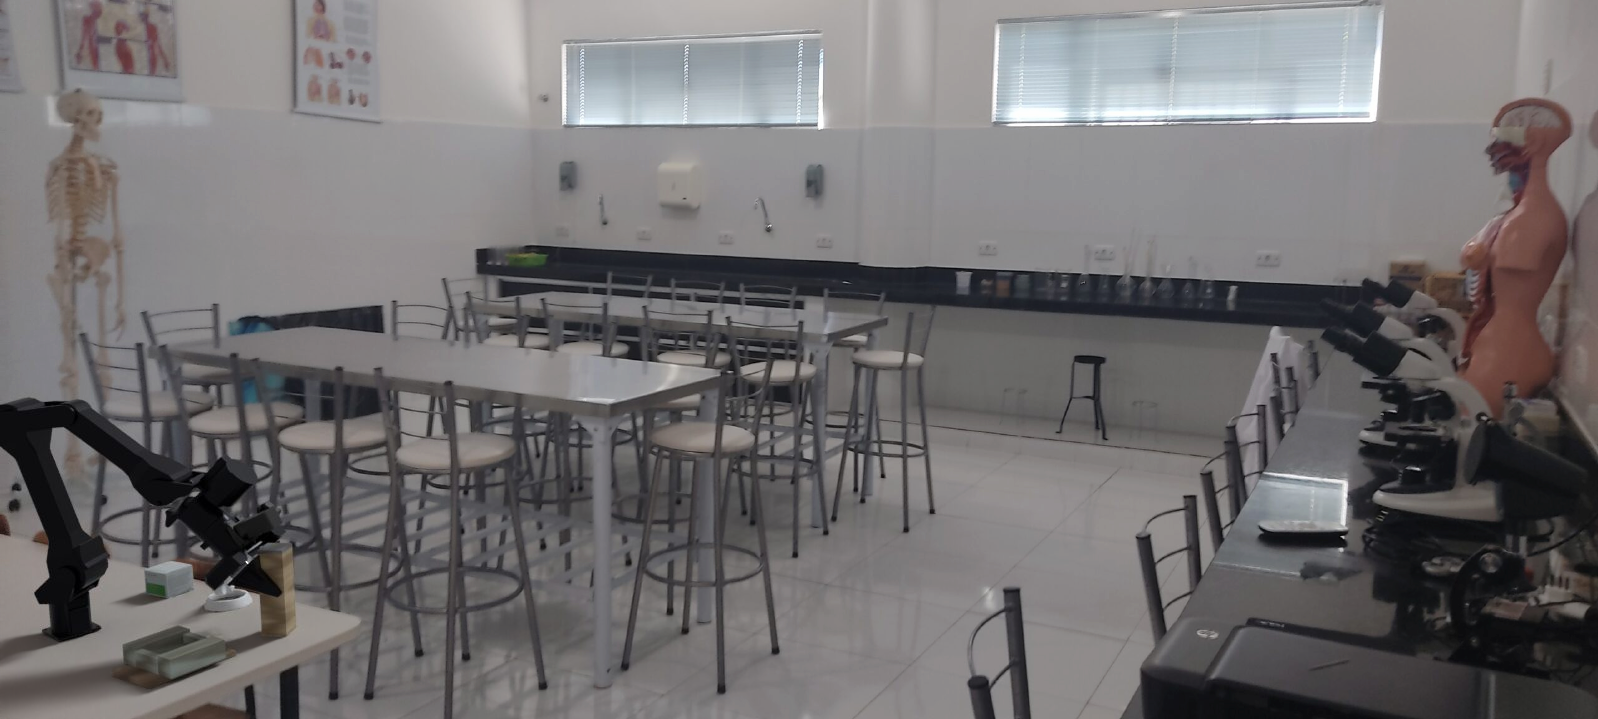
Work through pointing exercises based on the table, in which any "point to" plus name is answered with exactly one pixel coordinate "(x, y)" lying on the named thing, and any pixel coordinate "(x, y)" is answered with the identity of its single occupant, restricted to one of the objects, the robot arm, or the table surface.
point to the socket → (169, 656)
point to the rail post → (280, 610)
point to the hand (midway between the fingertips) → (285, 590)
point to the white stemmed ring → (229, 604)
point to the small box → (169, 579)
